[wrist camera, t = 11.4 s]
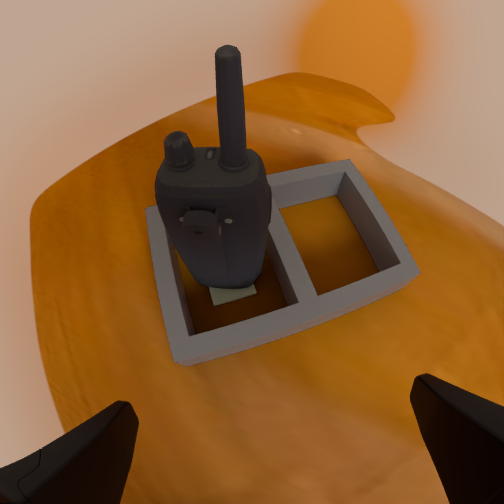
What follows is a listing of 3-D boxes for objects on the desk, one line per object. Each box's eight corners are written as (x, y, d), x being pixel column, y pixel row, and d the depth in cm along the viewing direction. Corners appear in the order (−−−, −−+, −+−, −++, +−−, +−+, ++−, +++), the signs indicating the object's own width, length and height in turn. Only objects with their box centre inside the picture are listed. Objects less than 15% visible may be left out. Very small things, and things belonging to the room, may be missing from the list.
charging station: (186, 366, 17) (174, 362, 14) (155, 225, 22) (144, 203, 19) (401, 288, 19) (420, 272, 16) (338, 178, 24) (346, 155, 21)
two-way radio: (266, 249, 20) (283, 34, 7) (264, 308, 18) (290, 91, 5) (191, 246, 20) (128, 46, 7) (182, 303, 18) (63, 112, 5)
